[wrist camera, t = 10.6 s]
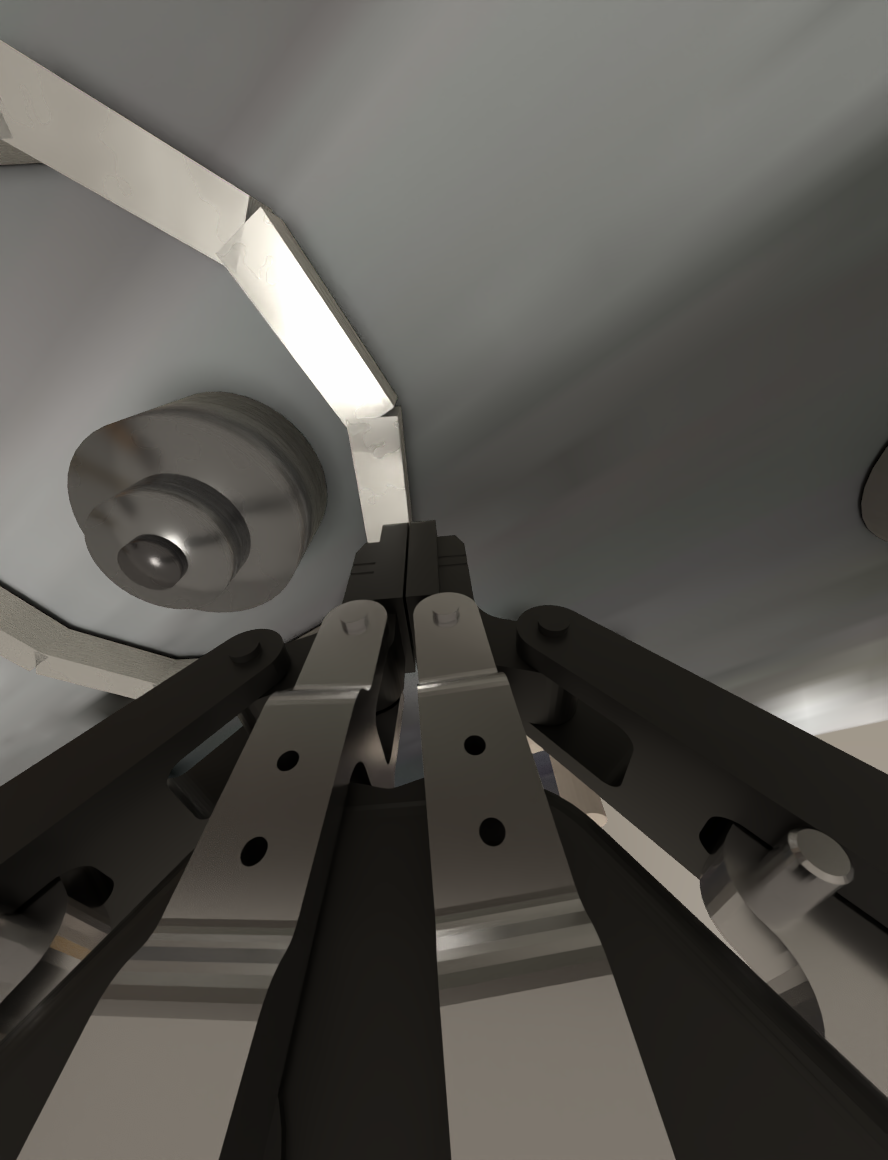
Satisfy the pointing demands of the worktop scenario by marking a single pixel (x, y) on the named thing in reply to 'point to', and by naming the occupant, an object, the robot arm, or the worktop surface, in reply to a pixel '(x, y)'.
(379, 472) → the ring
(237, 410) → the cover
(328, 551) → the worktop surface
